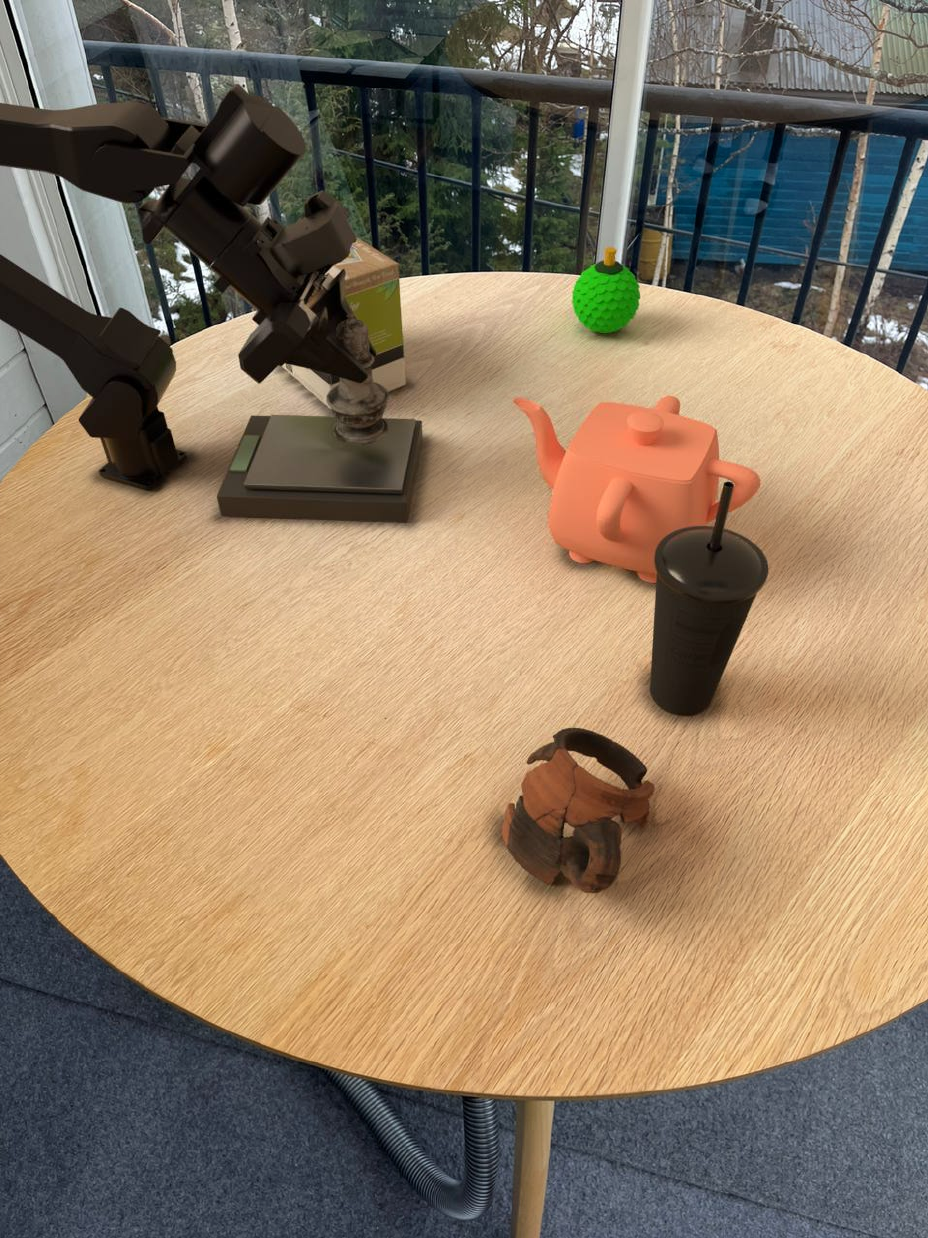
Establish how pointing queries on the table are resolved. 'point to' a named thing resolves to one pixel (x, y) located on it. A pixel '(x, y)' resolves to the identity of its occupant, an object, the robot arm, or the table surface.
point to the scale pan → (329, 457)
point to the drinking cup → (700, 609)
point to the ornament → (606, 295)
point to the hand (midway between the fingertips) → (369, 368)
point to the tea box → (368, 318)
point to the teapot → (632, 480)
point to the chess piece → (358, 392)
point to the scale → (310, 503)
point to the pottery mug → (576, 811)
